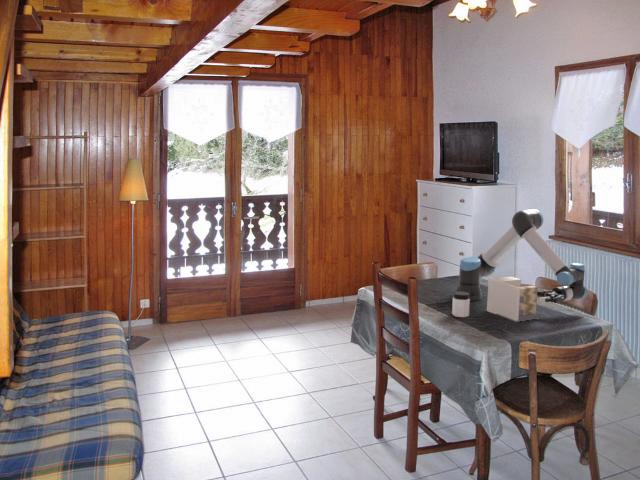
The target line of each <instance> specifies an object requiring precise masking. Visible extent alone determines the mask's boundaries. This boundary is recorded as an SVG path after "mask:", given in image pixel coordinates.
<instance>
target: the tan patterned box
mask: <svg viewBox="0 0 640 480" xmlns="http://www.w3.org/2000/svg"><path fill="white" fill-rule="evenodd" d="M519 288H520V297H522V296H523V297H524V303H519V310H523V315H530V314H537V300H538V296H537V290H539V288H538V286H535V285H526V286H521V287H519Z"/></svg>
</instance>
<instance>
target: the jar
mask: <svg viewBox="0 0 640 480" xmlns="http://www.w3.org/2000/svg"><path fill="white" fill-rule="evenodd" d="M470 303H471V302H470V299H469V293H467V292H461V291H458V292H456V291H455V292H453V296H452V305H451V306H452V308H451V310H452V311H451V314H452V315H453V316H454V317H456V318H457V317H458V318H467V317H469V316H470Z"/></svg>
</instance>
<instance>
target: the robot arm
mask: <svg viewBox="0 0 640 480" xmlns="http://www.w3.org/2000/svg"><path fill="white" fill-rule="evenodd" d="M511 218H512V219H511V225H512V226H511V227H510V228H508V230H507V231H506V232H505V233H504V234H503V235H502V236H501V237H500V238H499V239H498V240H497V241H496V242H495V243H494V244H493V245H492V246H491V247H490V248H489V249H488V250H487V251H483V252H482V253H480V255H478V257H476V256H475V257H474V256H473V257H472V256H469V257H464V258H461V260H460V262H459V280H458V281H459V282H458V286H457V289H456V291H455V292H458V291H461V292H467V293H469V299H470V301H471V302H472V301H473V302H475V301H480V300H482V297H483V295H482V290H481V286H480V281H481V279H482V278H485V277H488V276H490V275H492V274H493V273H494V272H495V269H496V268H497V267H498V265H499V264H498V262H499V261H501V259H502V258H503V257H504V256H505V255H507V253H509V251H510V250H511V249H513V247H515V246H516V245H517V244H518V243H519V242H520V241H521V240H522V239H524V241H526V242H527V243H528V244H529V246H530V247H531V248H532V250H534V252H535V253H536V254H537V256H539V257H540V259H541V260H542V262H544V263H545V265H546V266H547V267H548V269H550V270H551V272H552V273H553V274H554V276H556V281H557V283H558V285H560V286H555V287H554V288H552V289H551V290H547V289H537V297H539V299H538V303H539V304H545V303H554V304H557V303H558V302H566V301H570V300H572V301H573V300H580V299H585V298H586V297H587V296H588V293H589V292H588V288H587V286H586V285H585V273H586V267H585V264H583V263H579V262H572V263H570V265H569V267H568V266H567V264H565V262H564V261H563V259H562V258H561V257H560V256H559V255H558V254H557V253H556V252H555V251H554V250H553V248H552V247H551V246H550V245H549V244H548V242H547V241H546V240H545V239H544V238H543V237H542V235H541V234H540V233H539V232H538V231H537V229H539V228H540V227H542V226H543V224H544V216H543V214H542V213H541V211H539V210H538V209H535V208H528V209H523V210H519V211H517V212H516V213H514V215H513V216H512V217H511ZM480 278H481V279H480Z"/></svg>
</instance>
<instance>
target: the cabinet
mask: <svg viewBox="0 0 640 480" xmlns="http://www.w3.org/2000/svg"><path fill="white" fill-rule="evenodd" d="M519 287H522V278H519V277H514V276H503V277H502V276H501V277H492V278H488V285H487V300H486V301H487V303H486V306H487V307H486V312H489V313H491V314H493V315H496V316H498V317H501V318H504V319H506V320H508V321H512V322H514V323H521V322H520V321H522V322H527V321H526V320H529V321H533V320H532V319H537V318H539V319H540V313H536V314H530V315H523V310H519V303H524V297H523V296H522V297H520V288H519ZM537 320H538V319H537Z"/></svg>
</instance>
